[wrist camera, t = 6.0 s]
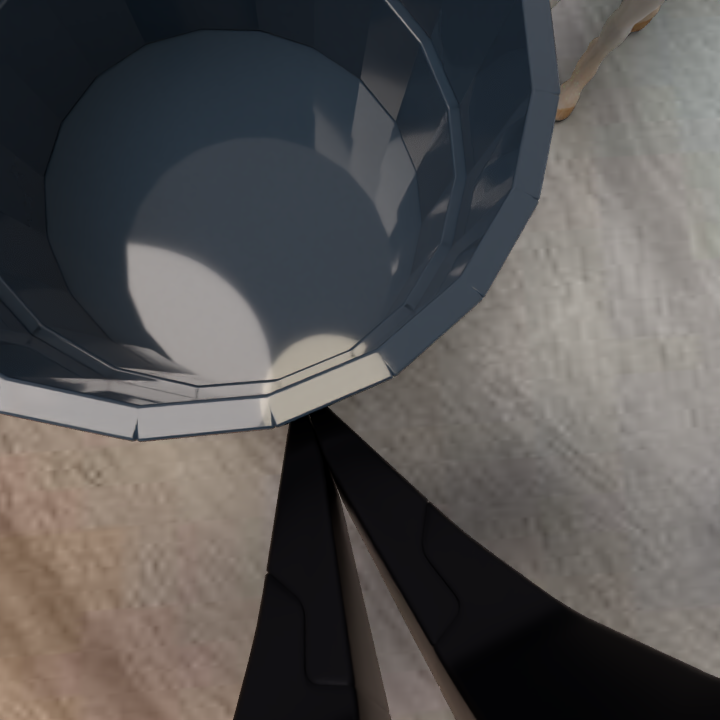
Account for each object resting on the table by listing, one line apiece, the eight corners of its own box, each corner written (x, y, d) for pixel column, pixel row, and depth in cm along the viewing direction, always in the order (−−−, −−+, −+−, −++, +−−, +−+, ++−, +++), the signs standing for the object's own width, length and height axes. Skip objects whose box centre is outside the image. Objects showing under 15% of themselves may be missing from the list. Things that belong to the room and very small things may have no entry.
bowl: (393, 449, 17) (479, 514, 8) (-30, 357, 15) (-466, 319, 7) (472, 89, 18) (613, -166, 10) (96, -33, 16) (-128, -472, 8)
